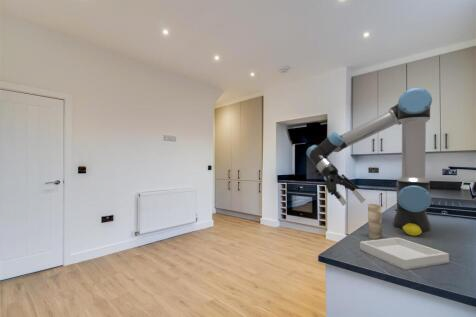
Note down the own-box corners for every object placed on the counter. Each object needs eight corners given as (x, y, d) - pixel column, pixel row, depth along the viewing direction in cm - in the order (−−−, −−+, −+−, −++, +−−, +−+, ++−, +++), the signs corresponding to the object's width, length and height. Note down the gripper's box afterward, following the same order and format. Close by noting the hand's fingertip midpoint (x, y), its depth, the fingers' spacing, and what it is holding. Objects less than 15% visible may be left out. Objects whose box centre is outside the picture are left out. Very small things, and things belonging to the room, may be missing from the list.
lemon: (421, 236, 107) (423, 224, 107) (420, 239, 103) (422, 227, 103) (402, 231, 112) (404, 220, 111) (400, 234, 108) (402, 222, 107)
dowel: (375, 235, 107) (374, 203, 108) (384, 239, 102) (384, 205, 103) (366, 236, 106) (365, 204, 106) (375, 240, 101) (374, 206, 101)
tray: (398, 245, 95) (397, 237, 95) (449, 263, 77) (448, 253, 78) (359, 249, 90) (359, 241, 90) (405, 270, 73) (404, 260, 73)
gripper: (338, 173, 134) (365, 204, 121) (306, 175, 121) (331, 210, 108) (347, 164, 129) (375, 195, 116) (314, 164, 117) (342, 199, 104)
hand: (354, 202), depth 112 cm, fingers open, 13 cm apart
